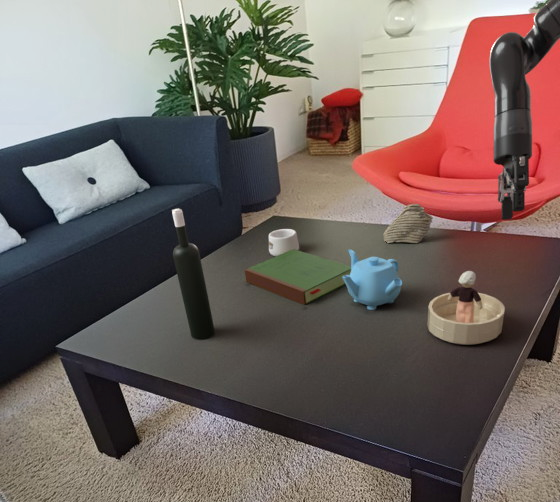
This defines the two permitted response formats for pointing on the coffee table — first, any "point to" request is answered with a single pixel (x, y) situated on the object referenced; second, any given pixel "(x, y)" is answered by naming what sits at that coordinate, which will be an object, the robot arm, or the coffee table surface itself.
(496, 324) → the bowl
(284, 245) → the mug
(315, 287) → the hardcover book
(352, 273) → the teapot
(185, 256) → the wine bottle
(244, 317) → the coffee table surface
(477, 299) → the grandmother figurine
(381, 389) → the coffee table surface
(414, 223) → the fossil tooth
